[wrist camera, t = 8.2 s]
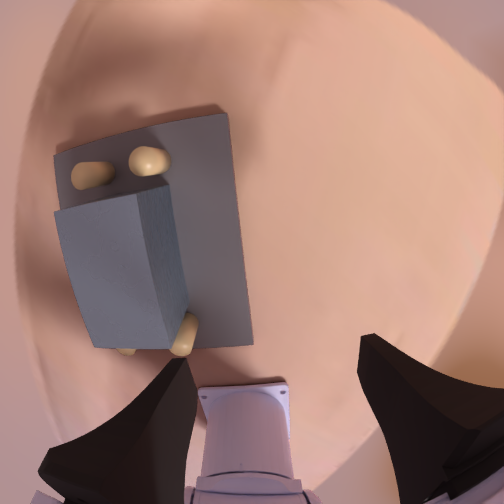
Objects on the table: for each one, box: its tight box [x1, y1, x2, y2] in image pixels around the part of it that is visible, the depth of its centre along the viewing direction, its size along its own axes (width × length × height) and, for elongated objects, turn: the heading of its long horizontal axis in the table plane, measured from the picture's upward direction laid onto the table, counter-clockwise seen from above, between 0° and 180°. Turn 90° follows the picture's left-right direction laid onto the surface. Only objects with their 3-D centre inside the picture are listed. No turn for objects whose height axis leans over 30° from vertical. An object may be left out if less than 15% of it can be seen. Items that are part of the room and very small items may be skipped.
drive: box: [54, 185, 190, 349], centre depth 15 cm, size 8×5×6 cm, turn 6°
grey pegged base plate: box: [53, 113, 254, 356], centre depth 17 cm, size 16×13×4 cm
